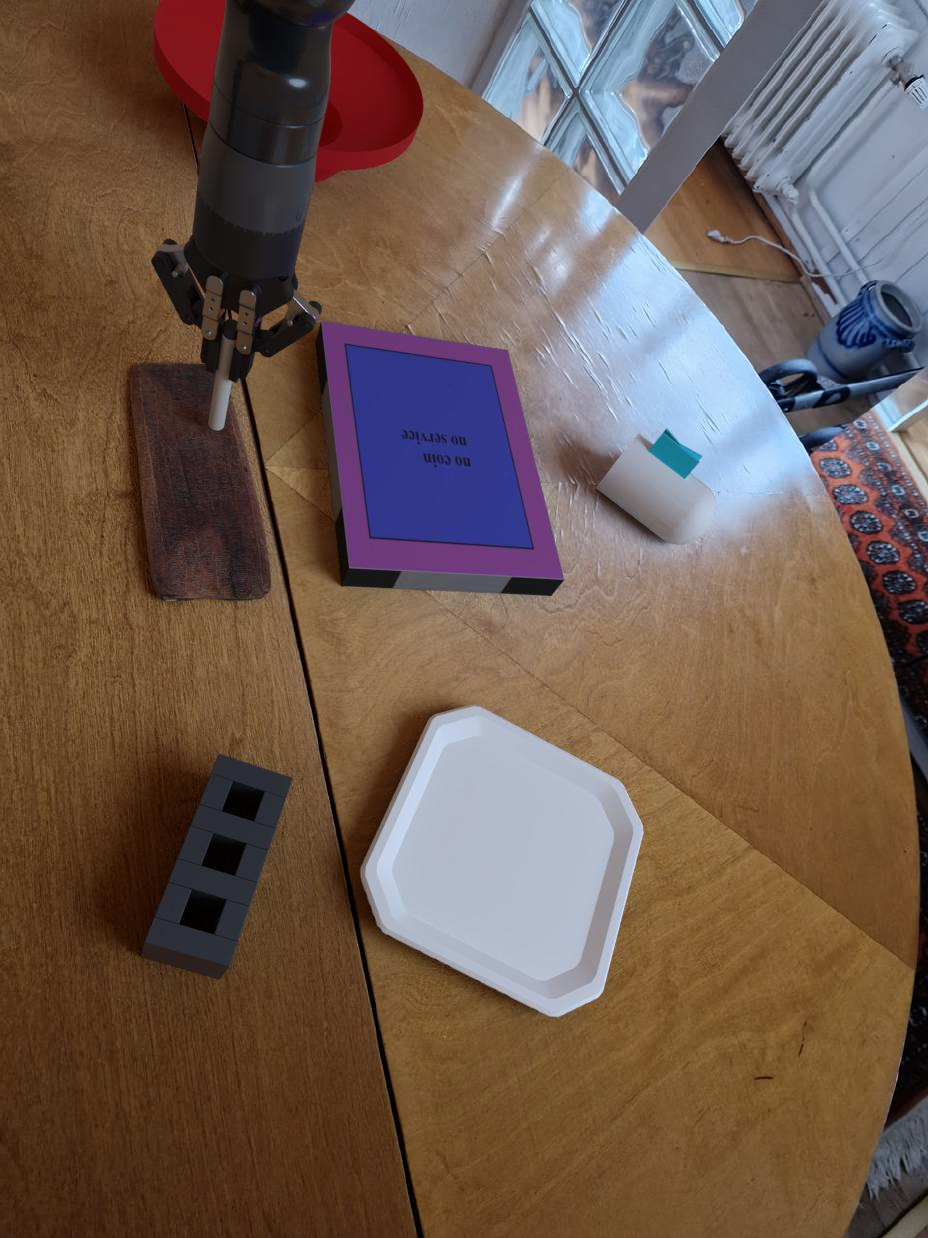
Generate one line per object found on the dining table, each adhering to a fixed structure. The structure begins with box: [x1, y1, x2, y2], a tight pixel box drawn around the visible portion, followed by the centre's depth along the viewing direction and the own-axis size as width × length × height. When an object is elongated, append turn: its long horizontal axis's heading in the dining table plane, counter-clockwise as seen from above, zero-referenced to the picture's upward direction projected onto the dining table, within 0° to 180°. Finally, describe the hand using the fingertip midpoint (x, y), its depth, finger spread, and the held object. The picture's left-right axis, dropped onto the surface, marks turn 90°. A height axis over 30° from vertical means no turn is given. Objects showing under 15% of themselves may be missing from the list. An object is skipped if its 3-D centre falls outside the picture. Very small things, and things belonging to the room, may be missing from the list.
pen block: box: [140, 753, 293, 980], centre depth 62 cm, size 13×6×5 cm, turn 168°
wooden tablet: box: [129, 362, 272, 603], centre depth 79 cm, size 26×2×10 cm
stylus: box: [208, 318, 238, 430], centre depth 76 cm, size 1×1×12 cm
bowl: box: [152, 0, 425, 183], centre depth 105 cm, size 30×30×10 cm
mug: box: [596, 427, 717, 546], centre depth 96 cm, size 12×9×12 cm
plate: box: [359, 704, 644, 1018], centre depth 71 cm, size 21×21×2 cm
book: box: [314, 320, 565, 597], centre depth 89 cm, size 21×3×30 cm
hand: (224, 370), depth 75 cm, fingers closed on stylus, 1 cm apart
